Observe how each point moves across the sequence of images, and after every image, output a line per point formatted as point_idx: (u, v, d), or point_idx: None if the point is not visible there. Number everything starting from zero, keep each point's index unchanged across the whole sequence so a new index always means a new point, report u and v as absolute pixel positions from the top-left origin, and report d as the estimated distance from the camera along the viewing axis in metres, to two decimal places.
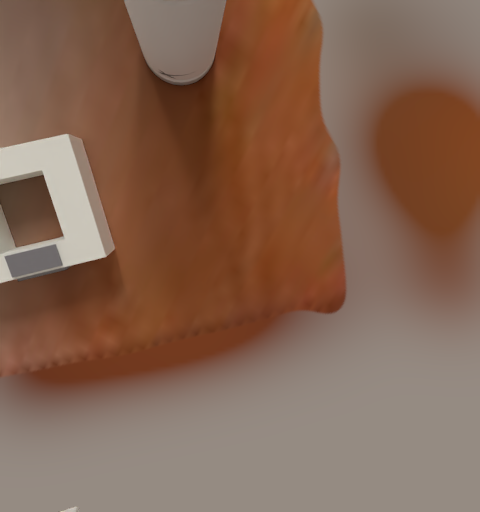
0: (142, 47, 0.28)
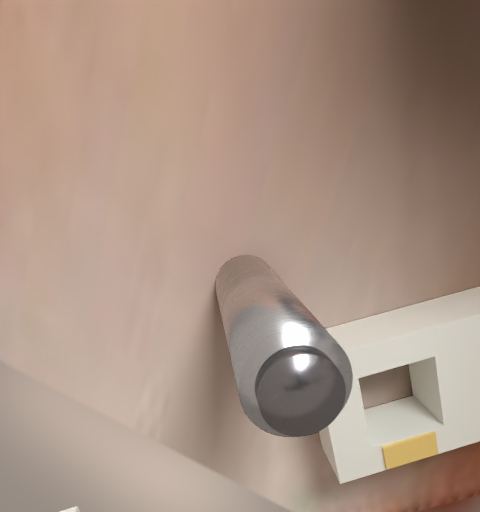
0: None
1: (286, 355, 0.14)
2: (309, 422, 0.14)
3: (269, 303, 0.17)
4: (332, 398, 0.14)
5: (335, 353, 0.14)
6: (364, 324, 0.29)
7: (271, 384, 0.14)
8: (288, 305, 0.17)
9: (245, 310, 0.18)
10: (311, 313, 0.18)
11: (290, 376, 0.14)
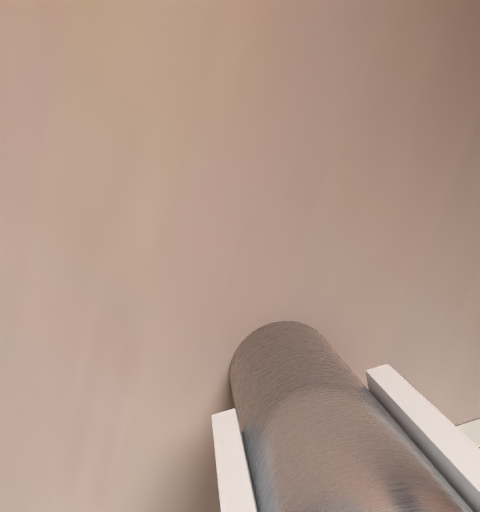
0: None
1: None
2: None
3: None
4: None
5: None
6: None
7: None
8: None
9: None
10: None
11: None
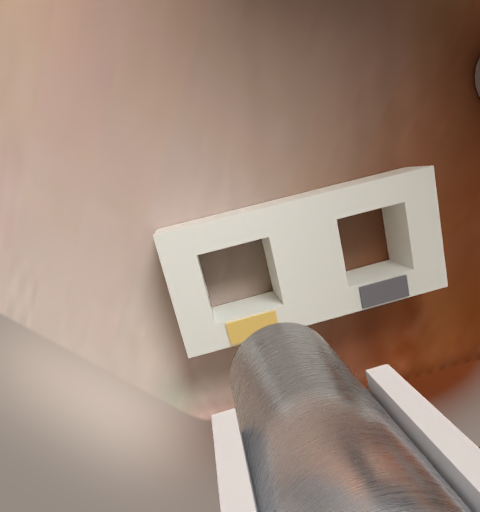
0: None
1: None
2: None
3: None
4: None
5: None
6: (215, 215, 0.31)
7: None
8: None
9: None
10: None
11: None
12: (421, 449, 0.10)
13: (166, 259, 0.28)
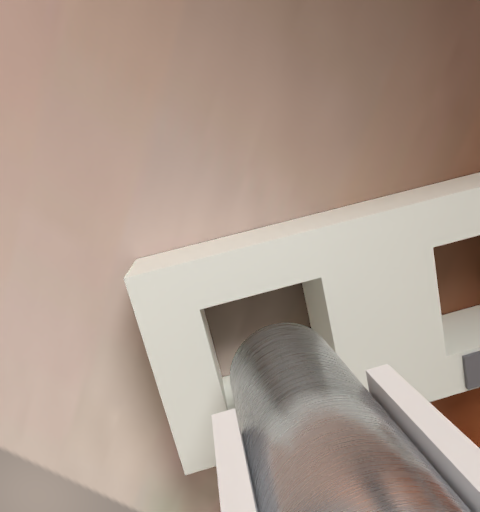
0: None
1: None
2: None
3: None
4: None
5: None
6: (229, 239, 0.19)
7: None
8: None
9: None
10: None
11: None
12: (421, 449, 0.10)
13: (147, 317, 0.17)
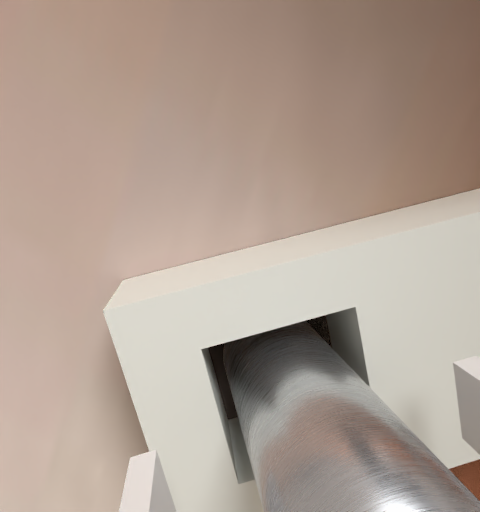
0: None
1: None
2: None
3: (391, 491, 0.07)
4: None
5: None
6: (237, 256, 0.16)
7: None
8: (446, 505, 0.07)
9: (326, 500, 0.07)
10: (478, 500, 0.08)
11: None
12: None
13: (134, 360, 0.13)
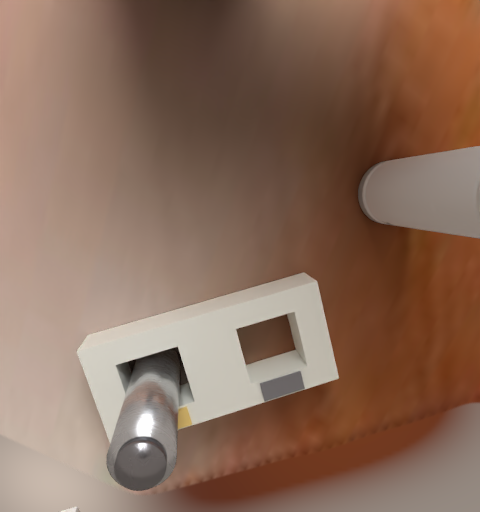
0: (389, 214, 0.34)
1: (130, 444, 0.24)
2: (146, 482, 0.24)
3: (139, 401, 0.28)
4: (158, 467, 0.24)
5: (163, 439, 0.25)
6: (136, 324, 0.37)
7: (121, 461, 0.24)
8: (149, 404, 0.27)
9: (126, 405, 0.28)
10: (168, 406, 0.28)
11: (131, 456, 0.24)
12: None
13: (89, 369, 0.34)
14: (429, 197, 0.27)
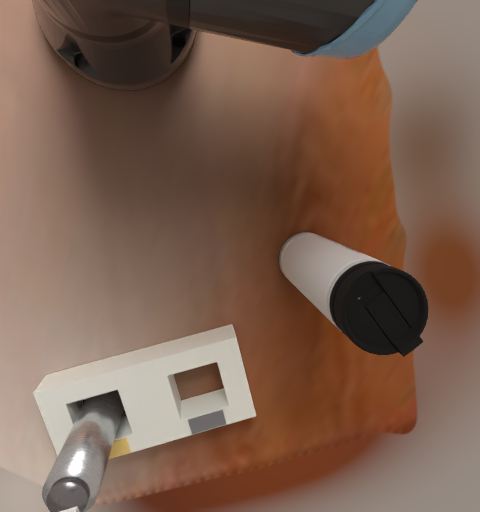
0: (294, 285, 0.40)
1: (59, 483, 0.31)
2: None
3: (74, 444, 0.35)
4: (81, 501, 0.32)
5: (87, 479, 0.32)
6: (86, 367, 0.44)
7: (51, 496, 0.31)
8: (81, 446, 0.35)
9: (65, 446, 0.35)
10: (98, 447, 0.35)
11: (60, 492, 0.31)
12: None
13: (43, 407, 0.41)
14: (308, 288, 0.34)
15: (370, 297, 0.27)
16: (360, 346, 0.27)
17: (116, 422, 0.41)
